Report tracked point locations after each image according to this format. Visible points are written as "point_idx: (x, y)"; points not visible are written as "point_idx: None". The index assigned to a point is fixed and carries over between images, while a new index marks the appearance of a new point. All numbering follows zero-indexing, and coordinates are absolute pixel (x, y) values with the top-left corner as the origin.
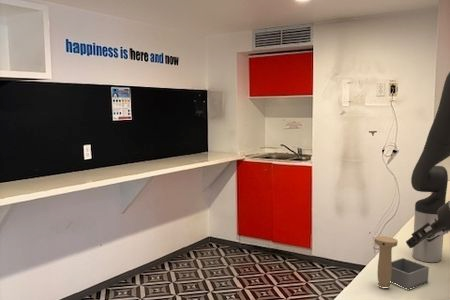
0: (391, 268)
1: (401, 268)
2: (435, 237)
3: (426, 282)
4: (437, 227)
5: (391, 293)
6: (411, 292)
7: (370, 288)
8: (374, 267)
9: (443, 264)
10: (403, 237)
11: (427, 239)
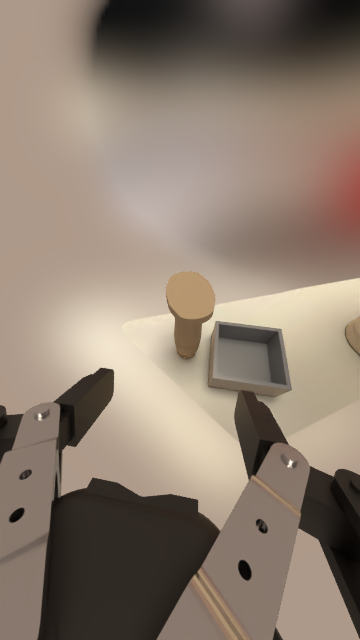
0: (190, 345)
1: (265, 340)
2: (244, 459)
3: (269, 395)
4: None
5: (173, 370)
6: (206, 394)
7: (165, 339)
8: (243, 306)
9: None
10: None
11: (237, 408)
